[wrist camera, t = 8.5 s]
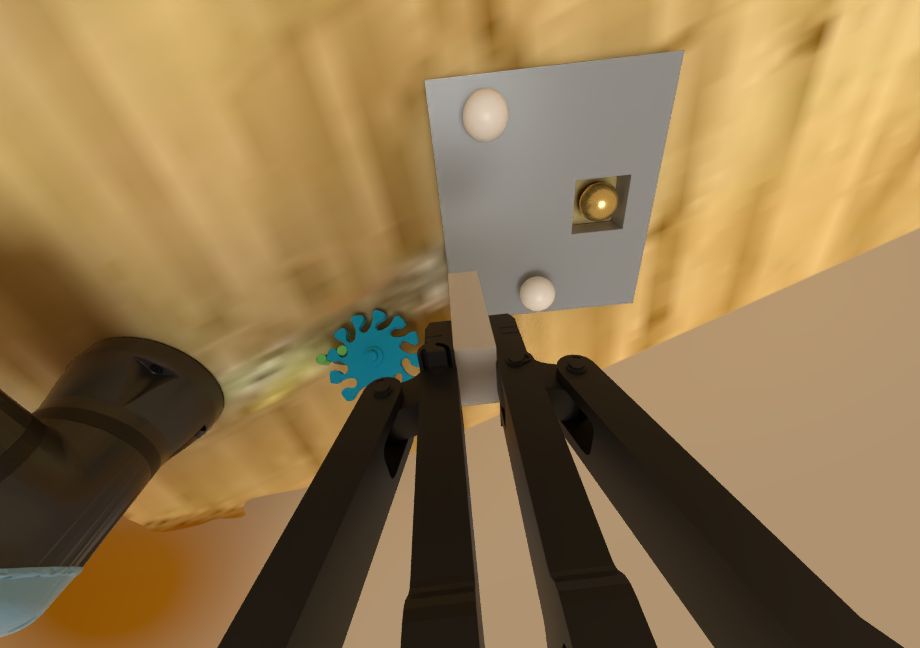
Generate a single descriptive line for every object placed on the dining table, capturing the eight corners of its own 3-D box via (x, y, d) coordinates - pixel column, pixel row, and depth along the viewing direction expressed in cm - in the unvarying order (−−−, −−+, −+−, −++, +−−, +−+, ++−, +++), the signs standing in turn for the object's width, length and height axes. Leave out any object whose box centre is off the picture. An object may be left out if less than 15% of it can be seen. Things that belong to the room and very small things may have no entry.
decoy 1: (517, 302, 34) (523, 319, 31) (516, 272, 32) (523, 287, 30) (549, 298, 34) (558, 315, 31) (551, 269, 32) (560, 284, 29)
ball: (591, 213, 33) (570, 221, 31) (595, 176, 31) (573, 184, 29) (623, 218, 30) (602, 228, 29) (629, 180, 29) (607, 189, 27)
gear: (424, 310, 35) (415, 411, 33) (433, 323, 41) (426, 409, 39) (321, 305, 36) (306, 402, 34) (344, 318, 42) (332, 402, 40)
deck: (453, 307, 37) (454, 320, 35) (426, 82, 26) (424, 80, 24) (622, 291, 37) (632, 302, 34) (664, 54, 26) (684, 50, 24)
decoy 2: (463, 142, 26) (465, 146, 24) (459, 91, 24) (461, 90, 22) (505, 137, 26) (512, 141, 23) (504, 86, 24) (511, 84, 22)
